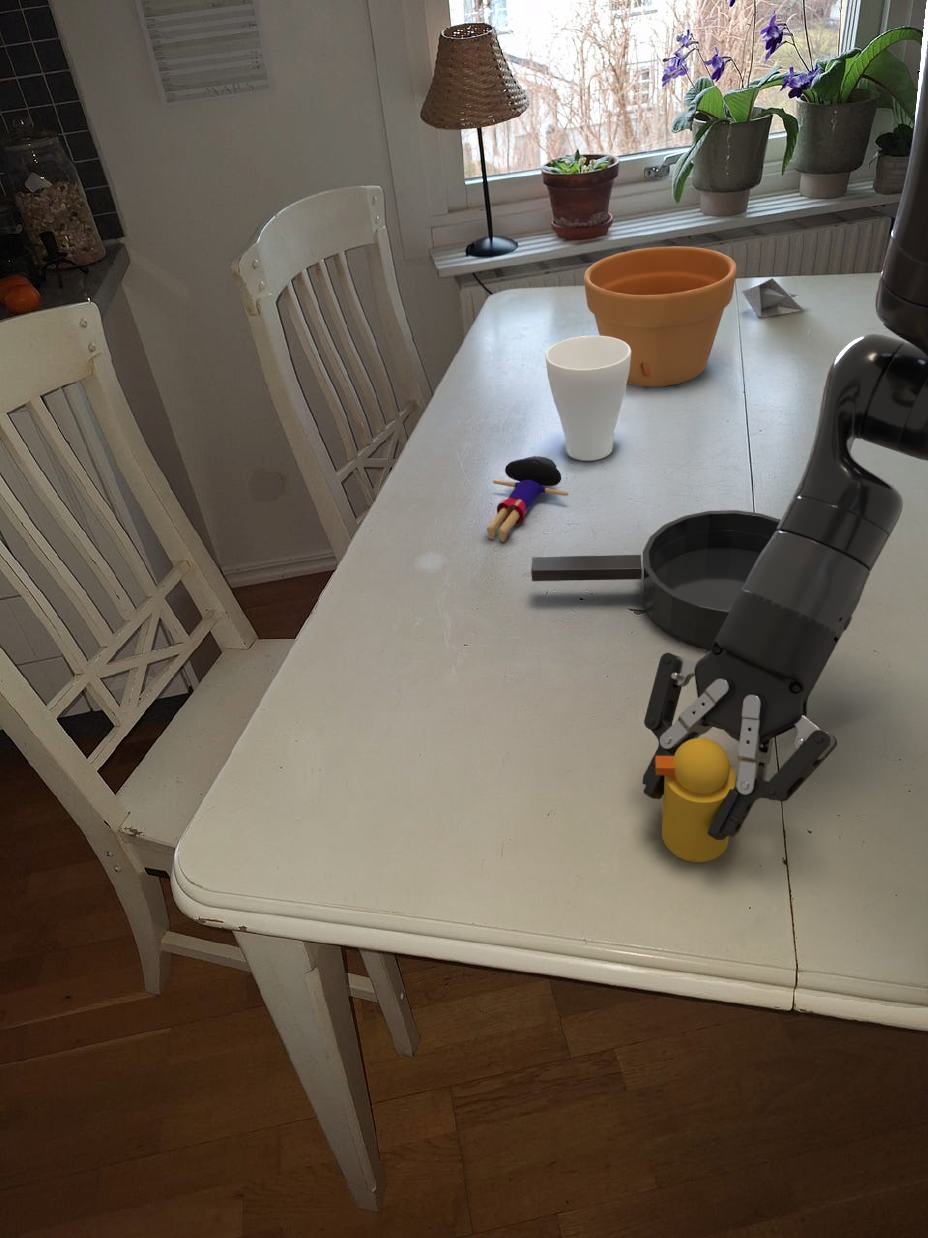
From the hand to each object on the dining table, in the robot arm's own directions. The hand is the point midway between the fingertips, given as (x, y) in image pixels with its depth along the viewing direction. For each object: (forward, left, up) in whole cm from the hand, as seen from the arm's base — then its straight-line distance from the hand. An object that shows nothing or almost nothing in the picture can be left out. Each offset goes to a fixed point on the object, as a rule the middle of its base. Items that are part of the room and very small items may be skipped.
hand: (683, 815), depth 65 cm
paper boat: (-22, -106, -4) cm, 109 cm away
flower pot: (-3, -88, -4) cm, 89 cm away
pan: (-7, -31, -4) cm, 33 cm away
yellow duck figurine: (-1, -1, -4) cm, 5 cm away
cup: (+7, -63, -4) cm, 64 cm away
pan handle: (+7, -31, -1) cm, 32 cm away
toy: (+15, -49, -4) cm, 52 cm away
